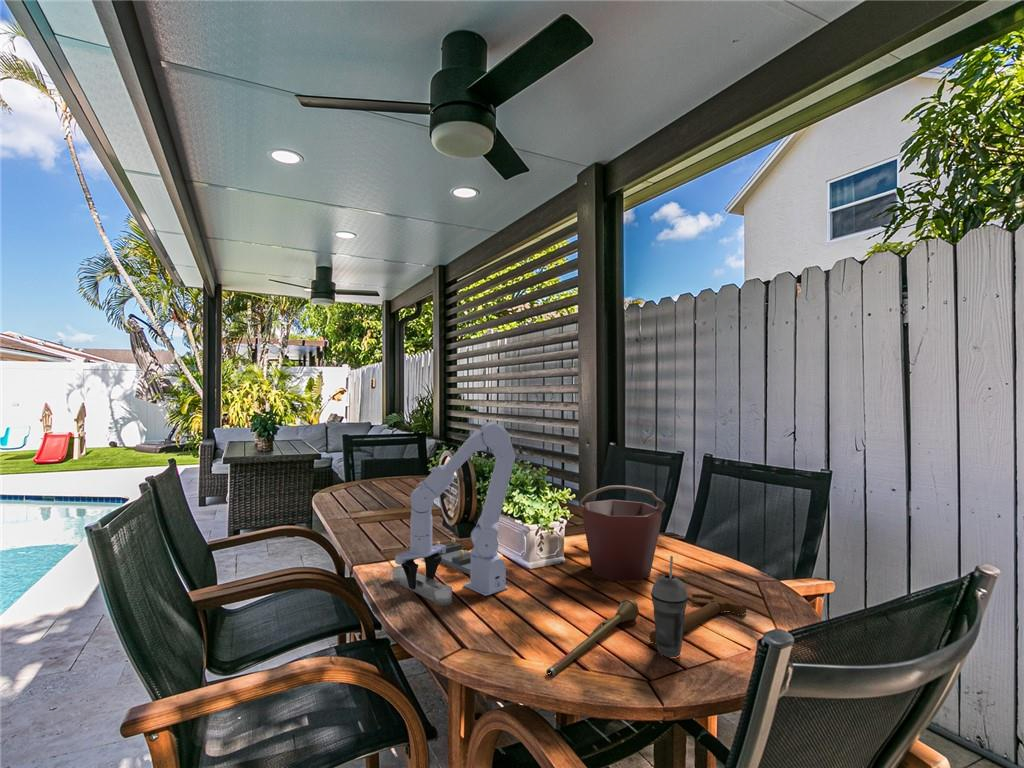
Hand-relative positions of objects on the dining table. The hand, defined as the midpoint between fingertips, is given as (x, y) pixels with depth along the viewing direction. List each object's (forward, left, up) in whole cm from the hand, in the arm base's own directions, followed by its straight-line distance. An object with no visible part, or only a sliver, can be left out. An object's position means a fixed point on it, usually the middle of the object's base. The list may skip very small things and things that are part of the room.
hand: (420, 585), depth 140 cm
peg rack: (+13, -22, -1) cm, 26 cm away
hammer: (-57, -35, -2) cm, 67 cm away
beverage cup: (-61, -19, -2) cm, 64 cm away
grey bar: (0, 0, -2) cm, 2 cm away
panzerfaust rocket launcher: (-48, -12, -2) cm, 50 cm away
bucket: (-27, -51, -2) cm, 58 cm away
